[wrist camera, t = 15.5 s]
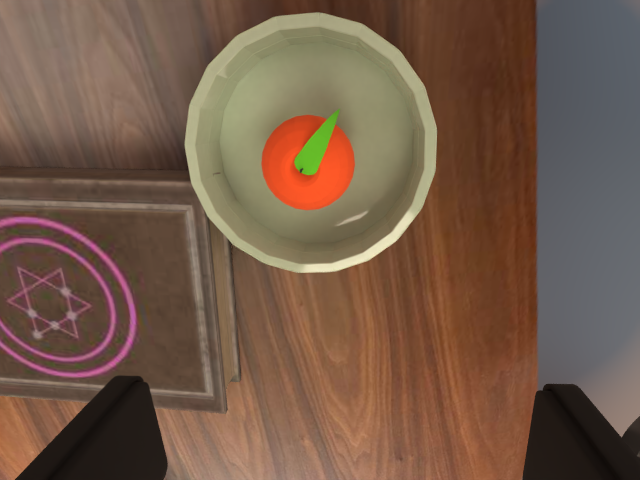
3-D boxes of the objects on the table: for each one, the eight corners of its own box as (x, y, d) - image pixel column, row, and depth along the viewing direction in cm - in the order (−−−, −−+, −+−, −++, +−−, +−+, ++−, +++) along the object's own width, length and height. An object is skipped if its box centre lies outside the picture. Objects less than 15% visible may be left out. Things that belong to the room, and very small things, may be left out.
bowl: (424, 22, 27) (442, -1, 21) (419, 245, 32) (432, 270, 27) (197, 43, 28) (163, 26, 23) (229, 251, 34) (207, 275, 29)
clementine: (304, 85, 28) (289, 75, 22) (378, 132, 29) (385, 136, 22) (258, 173, 31) (231, 187, 24) (327, 214, 31) (320, 240, 25)
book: (-19, 359, 41) (-68, 390, 36) (-90, 161, 34) (-162, 168, 29) (241, 378, 38) (225, 414, 34) (225, 167, 31) (201, 176, 26)
